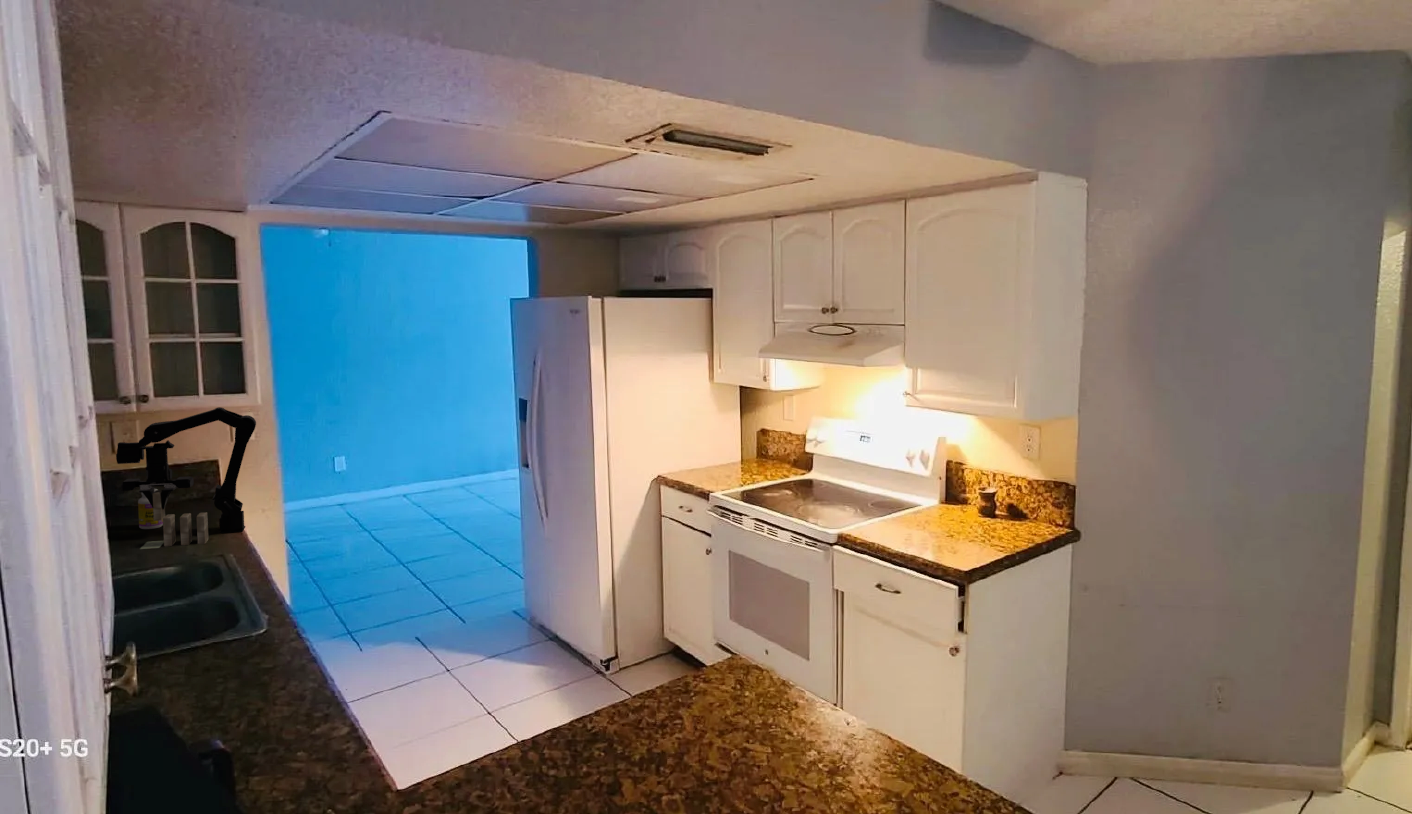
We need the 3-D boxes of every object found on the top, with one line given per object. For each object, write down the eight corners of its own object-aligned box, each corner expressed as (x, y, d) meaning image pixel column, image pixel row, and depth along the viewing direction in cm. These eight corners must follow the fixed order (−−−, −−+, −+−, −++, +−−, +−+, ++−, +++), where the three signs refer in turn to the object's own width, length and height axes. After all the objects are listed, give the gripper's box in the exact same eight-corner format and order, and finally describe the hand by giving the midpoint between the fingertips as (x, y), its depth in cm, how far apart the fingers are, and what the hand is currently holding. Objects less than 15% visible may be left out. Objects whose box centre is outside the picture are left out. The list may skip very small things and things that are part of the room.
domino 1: (175, 541, 251) (174, 514, 250) (171, 545, 246) (170, 518, 245) (168, 542, 250) (166, 514, 249) (164, 546, 246) (162, 518, 245)
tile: (165, 516, 258) (164, 489, 257) (161, 520, 253) (160, 493, 252) (158, 516, 257) (156, 490, 256) (153, 520, 252) (152, 493, 251)
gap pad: (165, 541, 251) (165, 540, 251) (159, 547, 244) (159, 547, 244) (147, 542, 249) (147, 541, 249) (139, 549, 242) (139, 548, 242)
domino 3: (208, 539, 254) (207, 512, 253) (205, 543, 250) (203, 516, 249) (201, 539, 254) (199, 512, 253) (197, 544, 249) (196, 516, 248)
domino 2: (192, 540, 253) (190, 513, 252) (188, 544, 248) (187, 517, 247) (184, 540, 252) (183, 513, 251) (181, 545, 247) (179, 517, 246)
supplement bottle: (143, 530, 262) (141, 493, 260) (136, 527, 266) (134, 490, 264) (166, 527, 267) (164, 490, 266) (159, 523, 271) (157, 487, 270)
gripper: (196, 456, 264) (198, 502, 266) (129, 458, 257) (132, 505, 259) (188, 462, 254) (190, 509, 255) (119, 465, 247) (121, 513, 248)
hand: (159, 509), depth 255 cm, fingers closed on tile, 2 cm apart
